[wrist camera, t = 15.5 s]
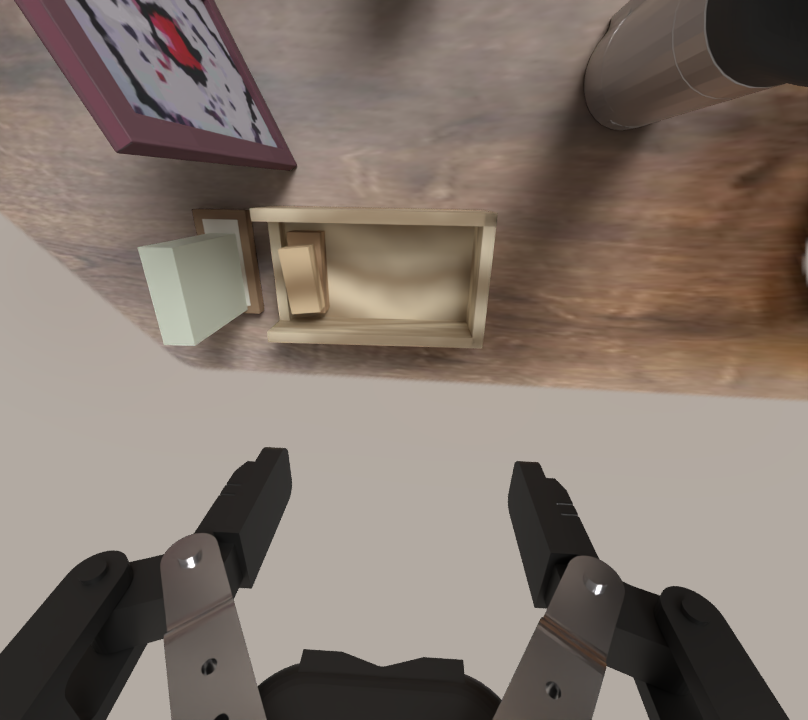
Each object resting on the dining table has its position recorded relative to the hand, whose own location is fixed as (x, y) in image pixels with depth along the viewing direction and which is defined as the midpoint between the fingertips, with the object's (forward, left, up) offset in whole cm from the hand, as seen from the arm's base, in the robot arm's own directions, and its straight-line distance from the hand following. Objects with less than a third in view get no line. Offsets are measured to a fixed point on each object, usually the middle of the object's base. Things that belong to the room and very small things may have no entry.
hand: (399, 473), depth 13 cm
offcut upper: (0, -12, -32) cm, 34 cm away
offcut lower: (0, -12, -34) cm, 36 cm away
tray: (0, -4, -35) cm, 36 cm away
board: (-1, -22, -35) cm, 42 cm away
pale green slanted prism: (0, -22, -34) cm, 40 cm away
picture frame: (-17, -21, -36) cm, 45 cm away
